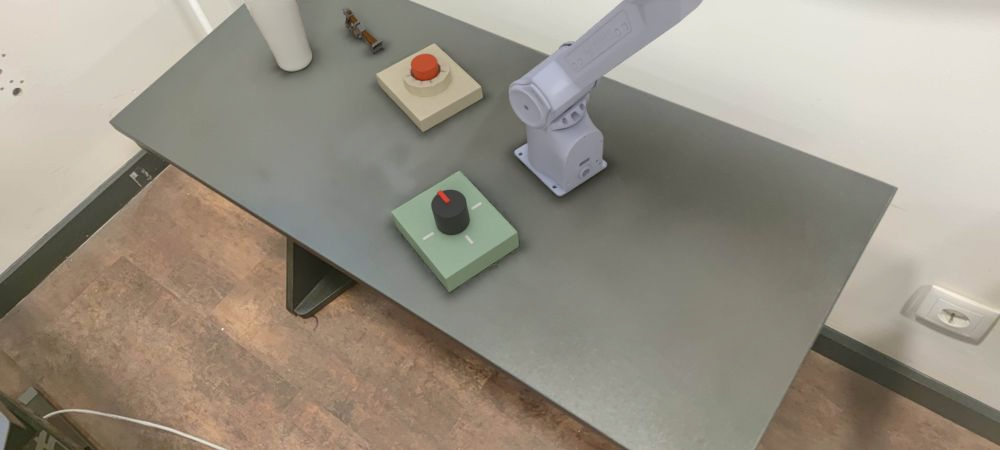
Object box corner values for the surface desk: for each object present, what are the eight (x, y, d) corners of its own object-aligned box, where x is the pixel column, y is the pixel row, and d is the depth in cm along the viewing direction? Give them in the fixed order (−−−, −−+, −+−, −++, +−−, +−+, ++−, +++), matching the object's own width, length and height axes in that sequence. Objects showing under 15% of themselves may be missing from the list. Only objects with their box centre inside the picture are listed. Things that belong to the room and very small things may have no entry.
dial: (476, 223, 81) (472, 203, 78) (448, 241, 80) (443, 222, 77) (457, 202, 83) (453, 182, 80) (429, 219, 82) (423, 199, 79)
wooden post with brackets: (347, 19, 108) (348, 1, 104) (381, 56, 108) (382, 39, 104) (338, 24, 108) (338, 7, 104) (371, 62, 107) (373, 46, 103)
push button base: (483, 98, 97) (480, 76, 94) (423, 132, 94) (417, 111, 91) (436, 54, 103) (432, 32, 100) (378, 85, 101) (372, 64, 97)
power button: (443, 73, 96) (442, 63, 94) (421, 85, 95) (419, 75, 93) (429, 59, 97) (427, 49, 96) (408, 71, 96) (405, 61, 95)
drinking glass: (273, 50, 107) (235, -36, 95) (317, 42, 107) (285, -45, 95) (273, 80, 103) (233, -6, 91) (319, 71, 103) (285, -16, 91)
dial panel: (519, 246, 82) (517, 231, 80) (449, 292, 80) (445, 278, 77) (462, 185, 89) (459, 169, 86) (395, 226, 86) (390, 210, 83)
